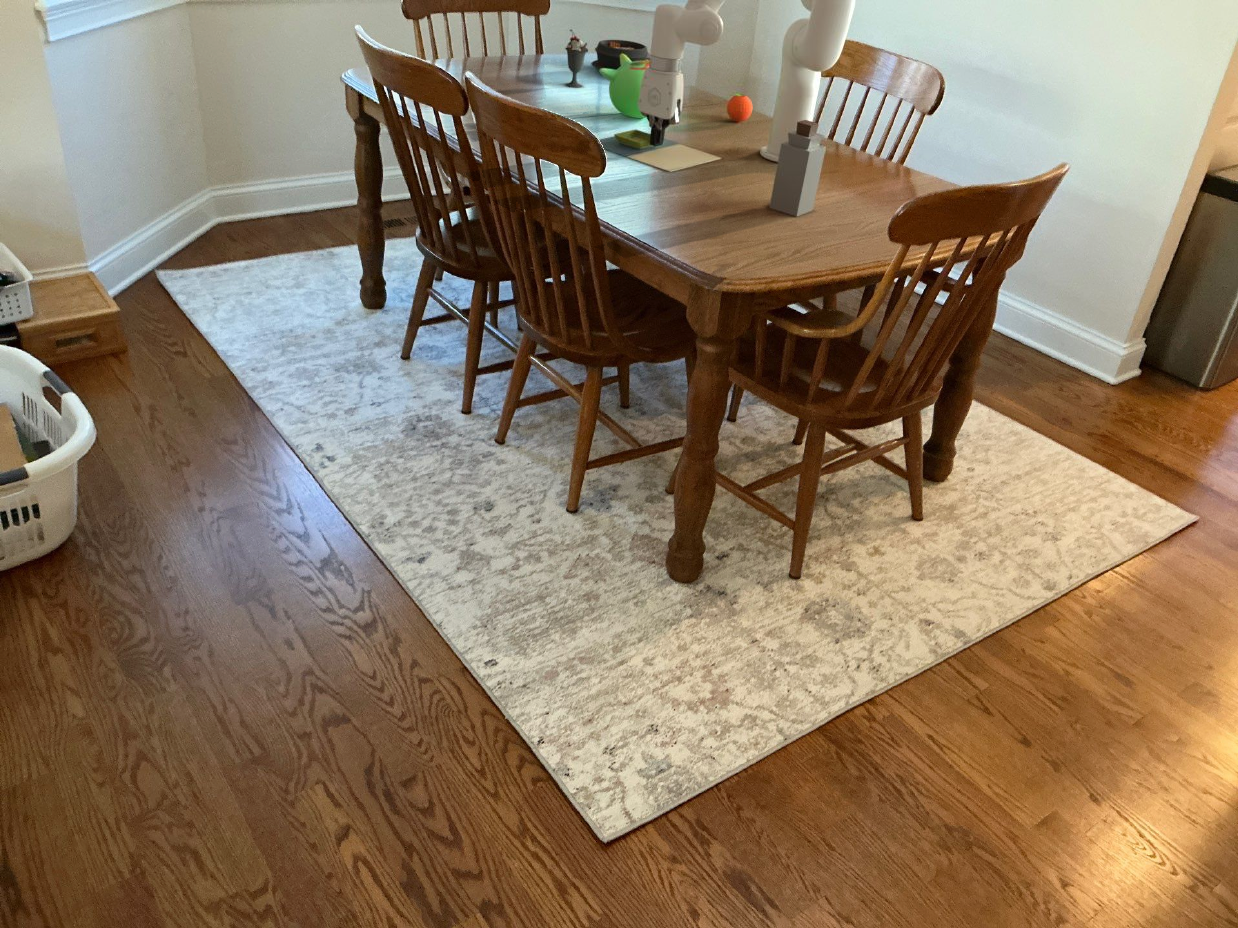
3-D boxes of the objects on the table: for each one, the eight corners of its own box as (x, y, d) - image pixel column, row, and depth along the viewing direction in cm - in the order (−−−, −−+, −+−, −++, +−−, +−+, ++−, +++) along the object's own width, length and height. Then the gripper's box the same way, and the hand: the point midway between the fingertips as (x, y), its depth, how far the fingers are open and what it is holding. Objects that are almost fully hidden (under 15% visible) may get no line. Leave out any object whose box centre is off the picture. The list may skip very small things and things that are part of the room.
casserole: (586, 62, 315) (589, 34, 310) (644, 66, 318) (646, 39, 313) (594, 80, 294) (597, 50, 290) (655, 85, 297) (658, 55, 293)
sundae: (558, 83, 287) (562, 27, 279) (579, 82, 290) (583, 28, 281) (567, 88, 282) (571, 32, 274) (588, 88, 285) (593, 33, 277)
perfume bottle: (785, 201, 213) (802, 116, 203) (812, 210, 210) (830, 124, 200) (769, 207, 209) (785, 121, 199) (796, 216, 205) (814, 129, 196)
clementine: (718, 121, 267) (722, 94, 264) (724, 115, 273) (728, 89, 269) (747, 126, 266) (751, 99, 262) (752, 121, 271) (756, 94, 267)
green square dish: (662, 146, 240) (663, 138, 239) (640, 152, 234) (641, 143, 233) (634, 137, 244) (635, 129, 243) (612, 143, 238) (613, 134, 237)
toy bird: (654, 129, 254) (661, 69, 246) (593, 117, 257) (598, 58, 249) (674, 115, 268) (681, 58, 260) (616, 104, 272) (621, 48, 264)
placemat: (721, 158, 237) (721, 158, 236) (669, 172, 223) (669, 171, 223) (639, 132, 250) (639, 131, 250) (586, 143, 237) (586, 142, 236)
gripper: (630, 59, 227) (622, 139, 237) (681, 73, 219) (671, 155, 229) (650, 56, 232) (642, 135, 242) (701, 70, 224) (690, 150, 234)
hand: (656, 144), depth 235 cm, fingers closed
